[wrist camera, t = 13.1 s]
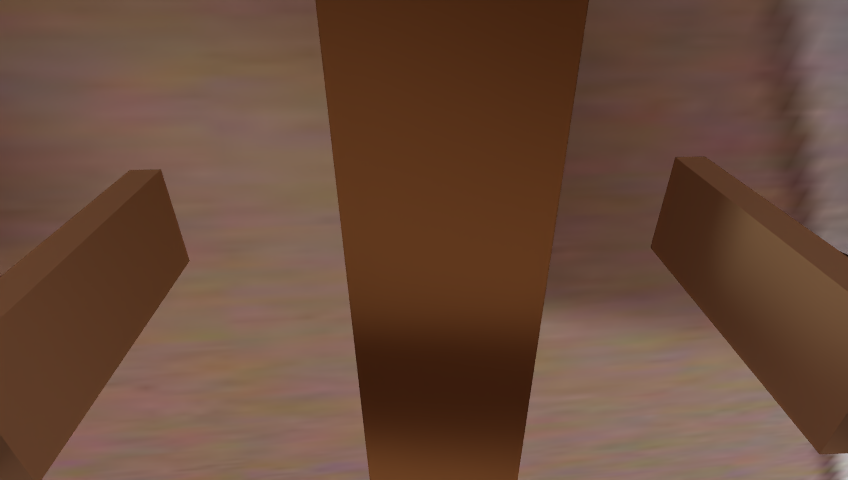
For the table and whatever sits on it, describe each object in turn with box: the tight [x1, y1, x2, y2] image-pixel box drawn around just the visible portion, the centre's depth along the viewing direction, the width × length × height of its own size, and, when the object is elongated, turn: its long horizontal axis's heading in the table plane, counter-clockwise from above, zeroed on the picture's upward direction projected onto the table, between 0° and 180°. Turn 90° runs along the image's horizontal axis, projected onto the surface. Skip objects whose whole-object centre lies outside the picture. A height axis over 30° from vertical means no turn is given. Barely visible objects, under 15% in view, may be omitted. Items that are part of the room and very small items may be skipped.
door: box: [316, 0, 589, 480], centre depth 15 cm, size 21×4×16 cm, turn 1°
